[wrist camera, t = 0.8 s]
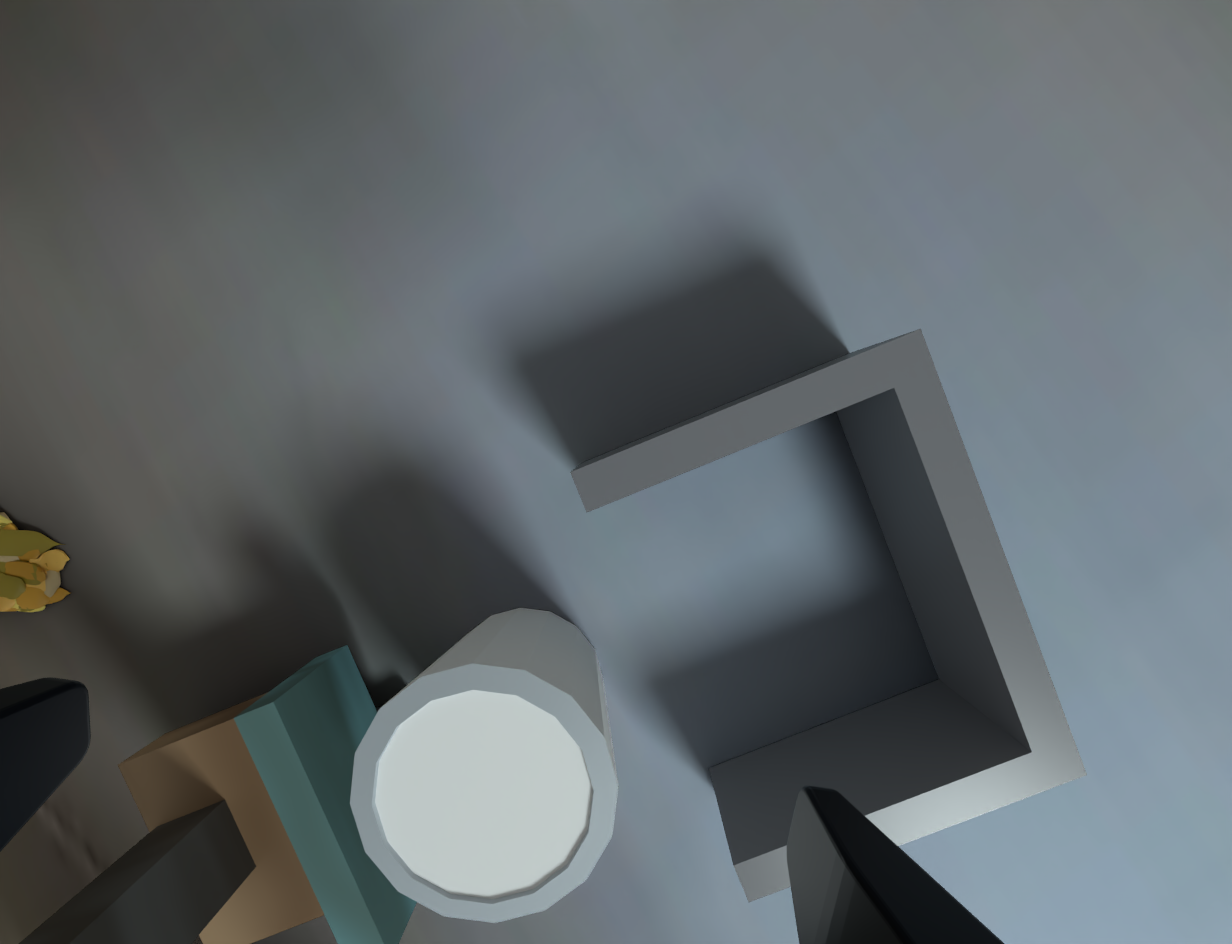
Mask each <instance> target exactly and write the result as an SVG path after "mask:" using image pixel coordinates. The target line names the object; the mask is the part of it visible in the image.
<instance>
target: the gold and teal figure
mask: <svg viewBox="0 0 1232 944" xmlns="http://www.w3.org/2000/svg"><path fill="white" fill-rule="evenodd" d="M57 545H66V544H59V543H57V542H54V541H53V540H51V539H49V538H48V537H46V536H45V535H43V534H41V533H39V532H35V531H28V530H18V529H17V527H16V526H15V525H14V524H13V522H12V521H11V520H10V519H9V517H8V516H7V515H6V514H5V512H0V611H1V612H4V611H21V612H35V611H41V610H44V609H45V607H46V604H52V603H54V602H58V601H61V600H62V599H63V598H64V597H65V596H66V595H68V594H70V593H69V592H68V591H66V590H65V589H63V588H60V587H59V586H60V584H61V579H60V572H59V571H60V570H62V569H63V568H64V565H65V564H66V562H67V561H69V560H70V559H69V557H68V556H67V555H66V554H65V552H64V551H62V550H59V549H54V550H49V549H50V548H52V547H54V546H57ZM47 550H49V551H47ZM46 551H47V552H46ZM40 554H41V555H40ZM39 555H40V556H39ZM38 556H39V557H38Z"/></svg>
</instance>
